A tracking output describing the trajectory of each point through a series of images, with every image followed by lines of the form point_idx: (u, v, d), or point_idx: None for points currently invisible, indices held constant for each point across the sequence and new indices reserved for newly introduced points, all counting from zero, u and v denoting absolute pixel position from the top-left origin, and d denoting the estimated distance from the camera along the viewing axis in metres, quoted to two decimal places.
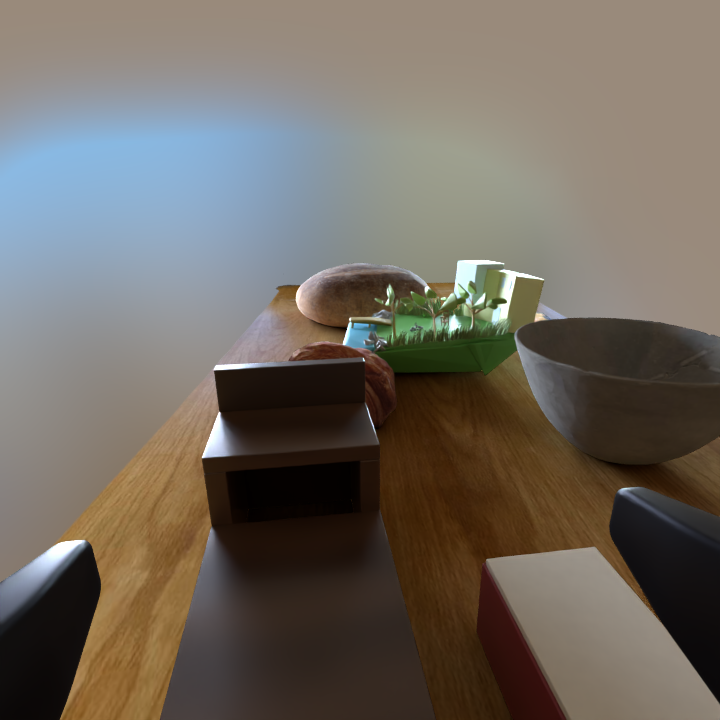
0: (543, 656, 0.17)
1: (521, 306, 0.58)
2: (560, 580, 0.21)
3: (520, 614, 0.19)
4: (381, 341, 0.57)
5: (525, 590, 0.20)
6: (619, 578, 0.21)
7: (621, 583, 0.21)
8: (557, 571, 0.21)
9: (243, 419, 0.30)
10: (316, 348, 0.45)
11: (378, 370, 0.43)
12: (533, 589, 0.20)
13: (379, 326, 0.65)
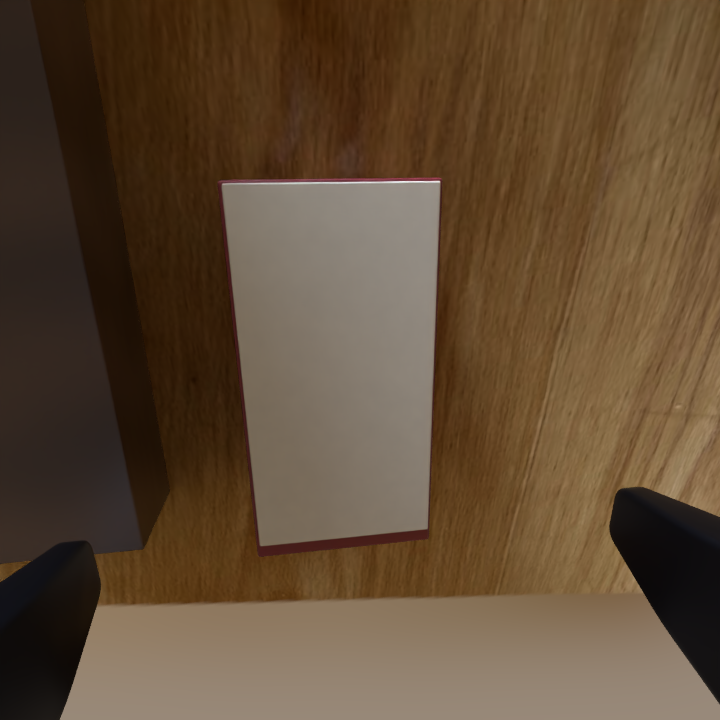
0: (249, 374, 0.13)
1: None
2: (335, 252, 0.12)
3: (241, 308, 0.12)
4: None
5: (267, 266, 0.12)
6: (432, 260, 0.13)
7: (428, 269, 0.13)
8: (340, 232, 0.12)
9: None
10: None
11: None
12: (282, 265, 0.12)
13: None
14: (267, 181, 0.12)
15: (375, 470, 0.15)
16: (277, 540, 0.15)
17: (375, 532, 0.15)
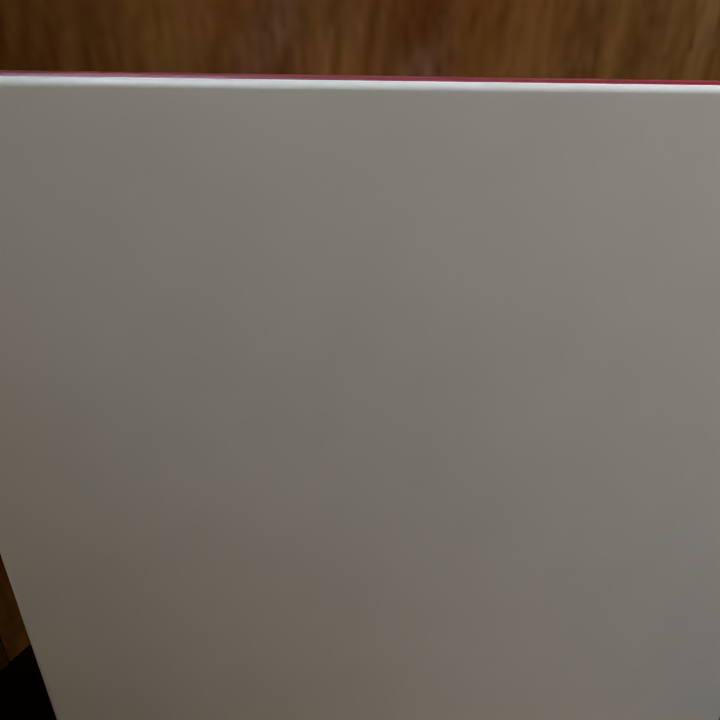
0: None
1: None
2: (445, 404, 0.03)
3: (53, 628, 0.03)
4: None
5: (149, 470, 0.03)
6: None
7: None
8: (474, 322, 0.03)
9: None
10: None
11: None
12: (215, 462, 0.03)
13: None
14: None
15: None
16: None
17: None
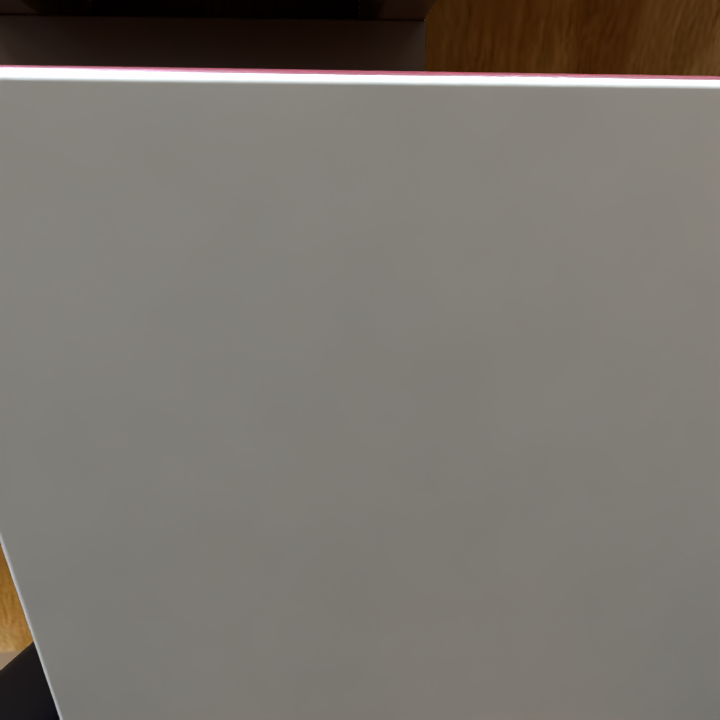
0: None
1: None
2: (449, 400, 0.03)
3: (56, 625, 0.03)
4: None
5: (152, 467, 0.03)
6: None
7: None
8: (477, 318, 0.03)
9: None
10: None
11: None
12: (218, 458, 0.03)
13: None
14: None
15: None
16: None
17: None
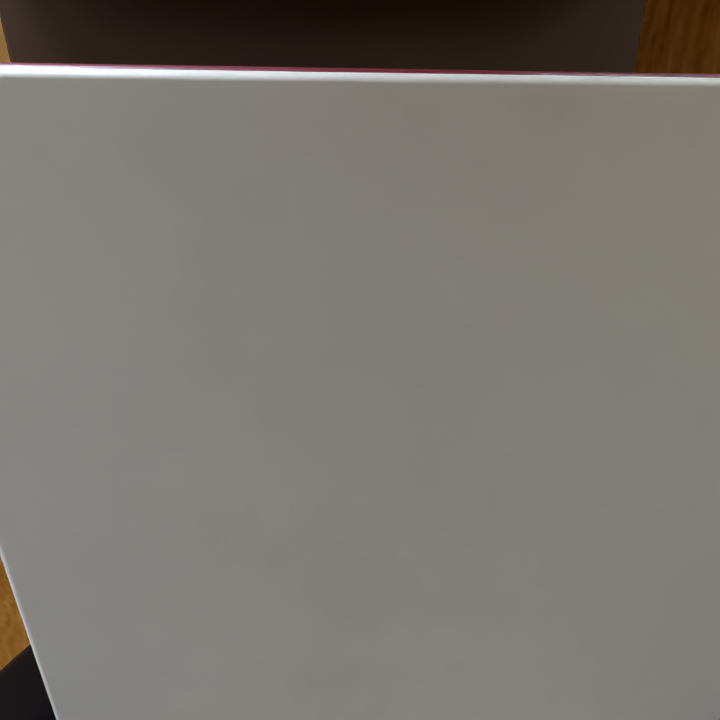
0: None
1: None
2: (445, 400, 0.03)
3: (51, 626, 0.03)
4: None
5: (149, 466, 0.03)
6: None
7: None
8: (474, 317, 0.03)
9: None
10: None
11: None
12: (214, 457, 0.03)
13: None
14: None
15: None
16: None
17: None
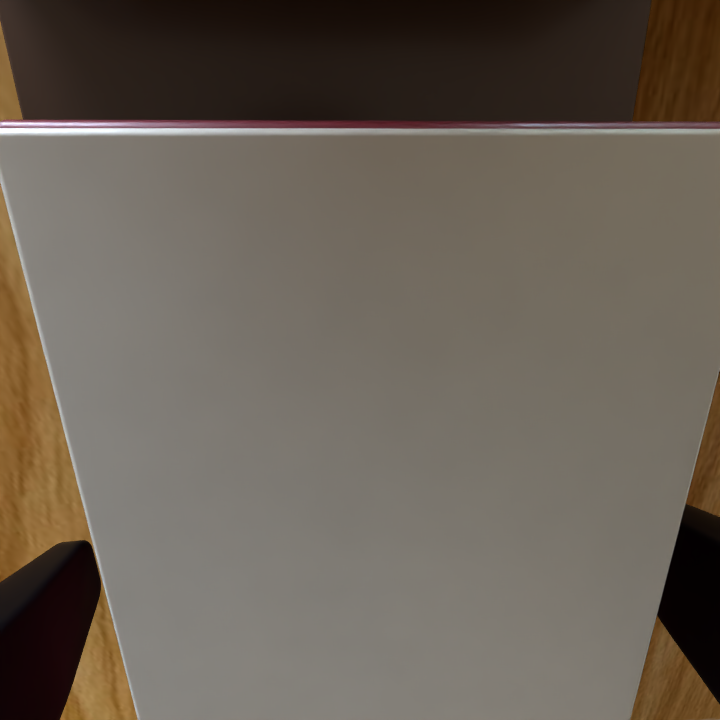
0: (153, 696, 0.05)
1: None
2: (415, 367, 0.04)
3: (113, 541, 0.04)
4: None
5: (191, 416, 0.04)
6: (704, 380, 0.04)
7: (688, 404, 0.04)
8: (435, 304, 0.04)
9: None
10: None
11: None
12: (240, 410, 0.04)
13: None
14: (179, 126, 0.03)
15: None
16: None
17: None
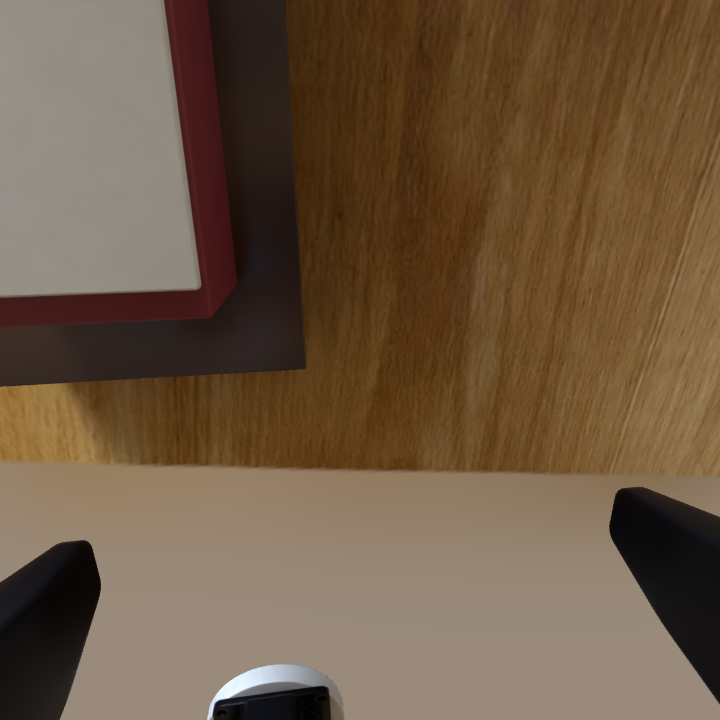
0: None
1: None
2: None
3: None
4: None
5: None
6: None
7: None
8: None
9: None
10: None
11: None
12: None
13: None
14: None
15: (82, 161, 0.09)
16: None
17: (106, 288, 0.09)
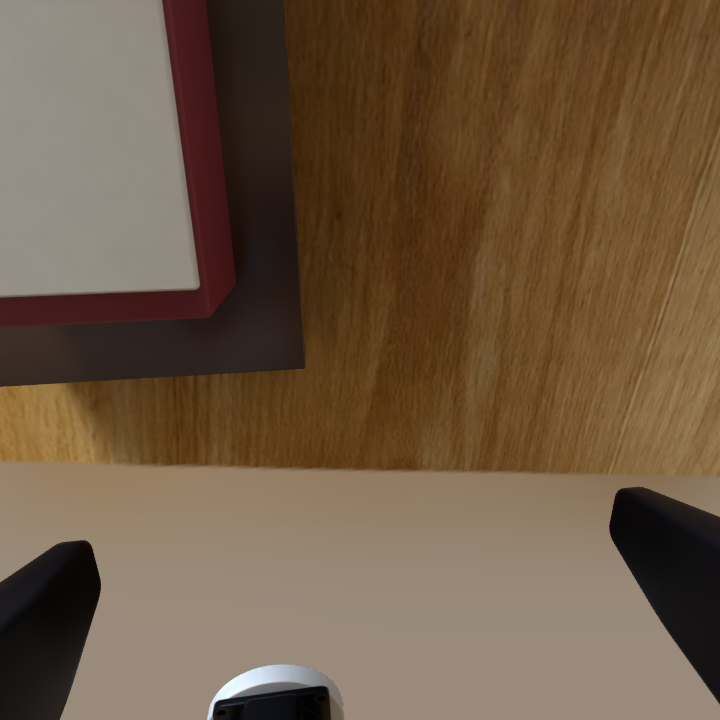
0: None
1: None
2: None
3: None
4: None
5: None
6: None
7: None
8: None
9: None
10: None
11: None
12: None
13: None
14: None
15: (80, 161, 0.09)
16: None
17: (104, 287, 0.09)
